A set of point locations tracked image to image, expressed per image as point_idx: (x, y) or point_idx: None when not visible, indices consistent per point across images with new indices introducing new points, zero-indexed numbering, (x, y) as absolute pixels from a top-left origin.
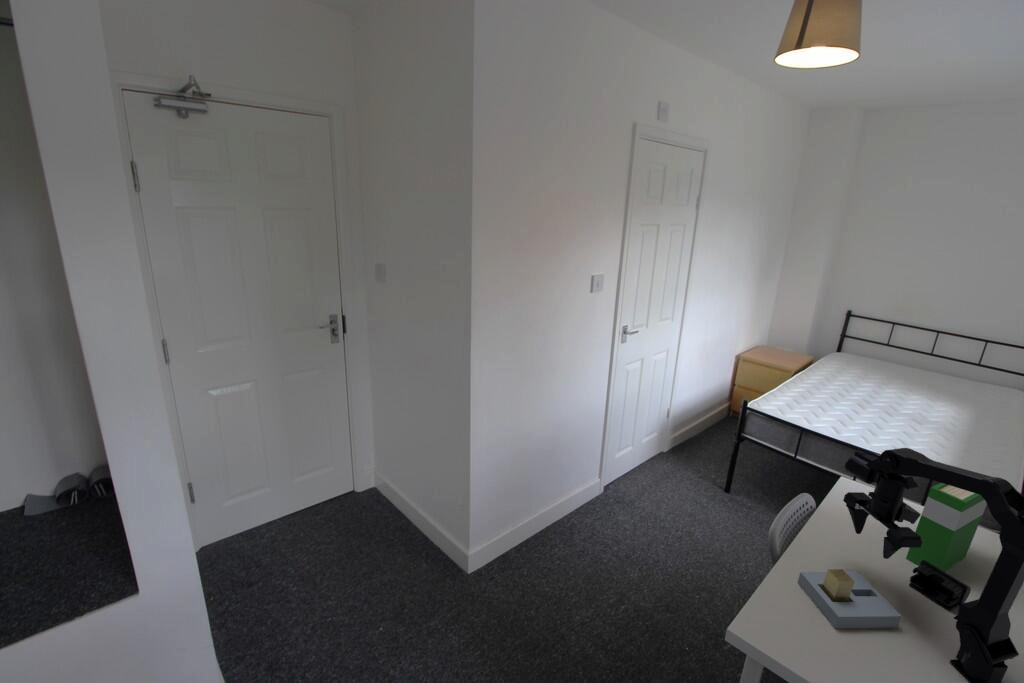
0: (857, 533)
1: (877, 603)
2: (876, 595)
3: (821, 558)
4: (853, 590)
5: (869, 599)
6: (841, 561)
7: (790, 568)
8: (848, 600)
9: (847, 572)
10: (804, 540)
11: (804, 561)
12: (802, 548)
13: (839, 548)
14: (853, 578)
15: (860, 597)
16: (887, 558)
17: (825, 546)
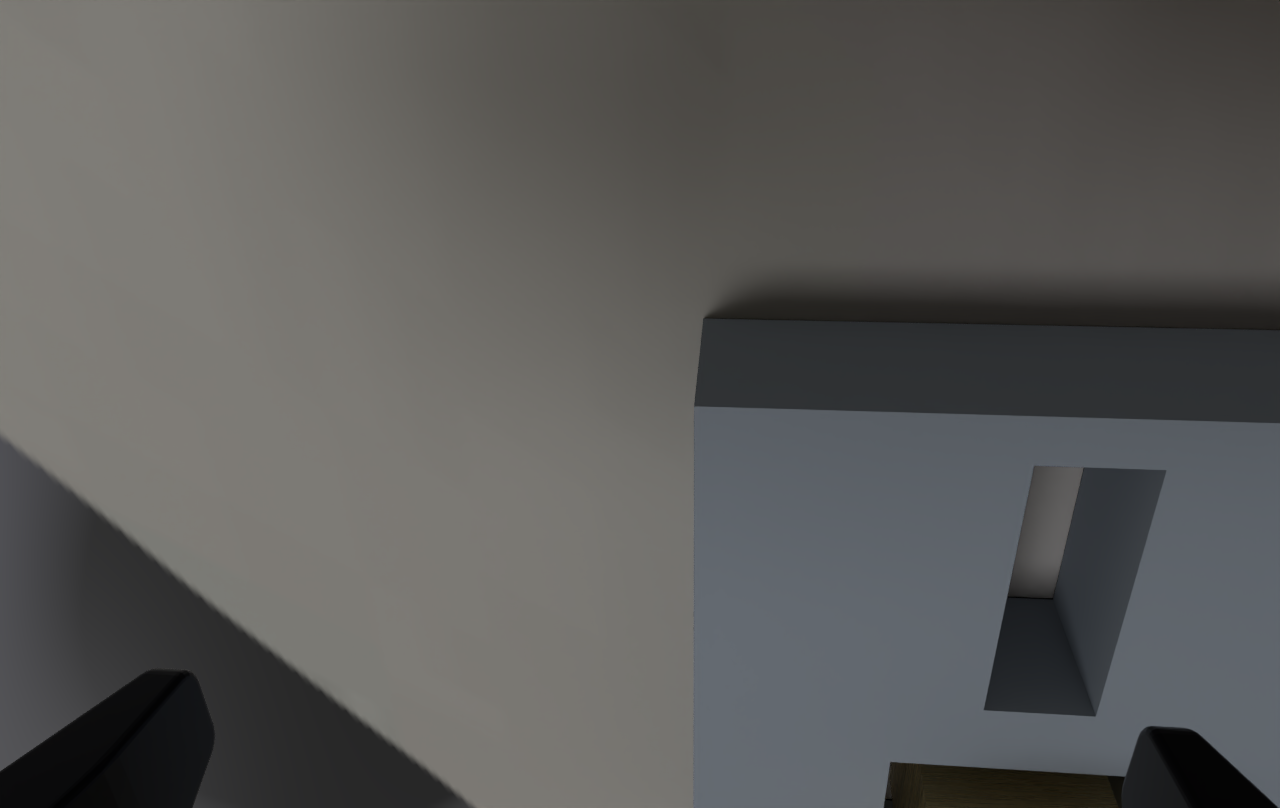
0: (210, 743)
1: (1267, 569)
2: (1137, 465)
3: (312, 421)
4: (990, 652)
5: (1181, 610)
6: (318, 202)
7: (521, 783)
8: (1110, 787)
9: (707, 543)
10: (6, 413)
11: (400, 621)
12: (177, 520)
13: (16, 26)
14: (819, 547)
15: (1123, 679)
16: (1185, 748)
17: (41, 218)
